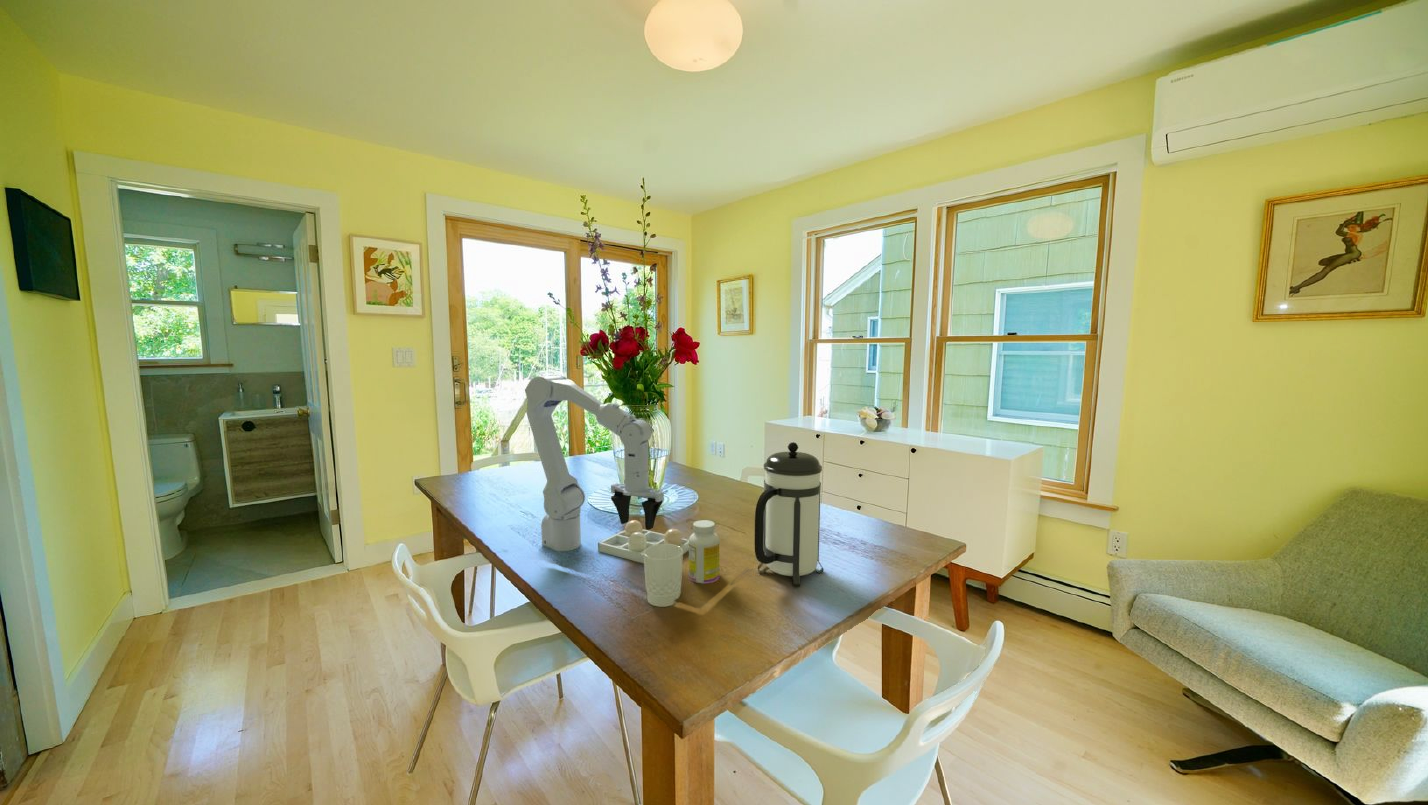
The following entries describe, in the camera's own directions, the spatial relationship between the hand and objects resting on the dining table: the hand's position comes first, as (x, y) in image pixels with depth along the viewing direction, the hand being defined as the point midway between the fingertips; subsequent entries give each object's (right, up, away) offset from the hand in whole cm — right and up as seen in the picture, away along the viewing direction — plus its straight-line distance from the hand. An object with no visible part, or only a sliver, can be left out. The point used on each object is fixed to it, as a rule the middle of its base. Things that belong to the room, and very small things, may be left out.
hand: (636, 525), depth 117 cm
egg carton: (+2, -8, +3) cm, 9 cm away
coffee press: (+35, -9, -8) cm, 37 cm away
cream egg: (0, -7, +1) cm, 7 cm away
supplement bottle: (+16, -10, -11) cm, 22 cm away
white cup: (+8, -10, -19) cm, 23 cm away
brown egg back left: (-2, -6, +9) cm, 11 cm away
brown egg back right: (+9, -7, +3) cm, 11 cm away
